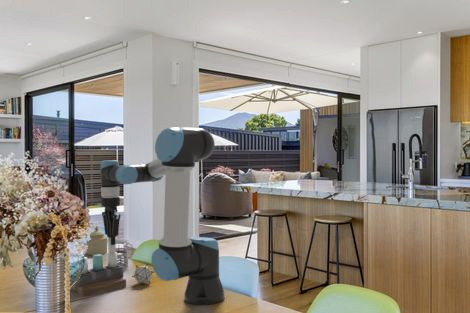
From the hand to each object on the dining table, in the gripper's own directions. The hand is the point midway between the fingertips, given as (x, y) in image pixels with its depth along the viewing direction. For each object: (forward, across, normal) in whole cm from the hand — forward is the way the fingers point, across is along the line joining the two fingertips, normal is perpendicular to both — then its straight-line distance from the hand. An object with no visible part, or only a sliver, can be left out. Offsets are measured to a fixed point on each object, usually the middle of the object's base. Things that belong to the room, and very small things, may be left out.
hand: (112, 252), depth 197 cm
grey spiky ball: (+14, -8, -10) cm, 19 cm away
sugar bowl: (+14, +64, -21) cm, 69 cm away
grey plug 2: (+6, 0, 0) cm, 6 cm away
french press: (+14, +20, -14) cm, 28 cm away
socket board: (+14, 0, +6) cm, 15 cm away
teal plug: (+6, 0, +6) cm, 9 cm away
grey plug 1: (+6, 0, +13) cm, 14 cm away
